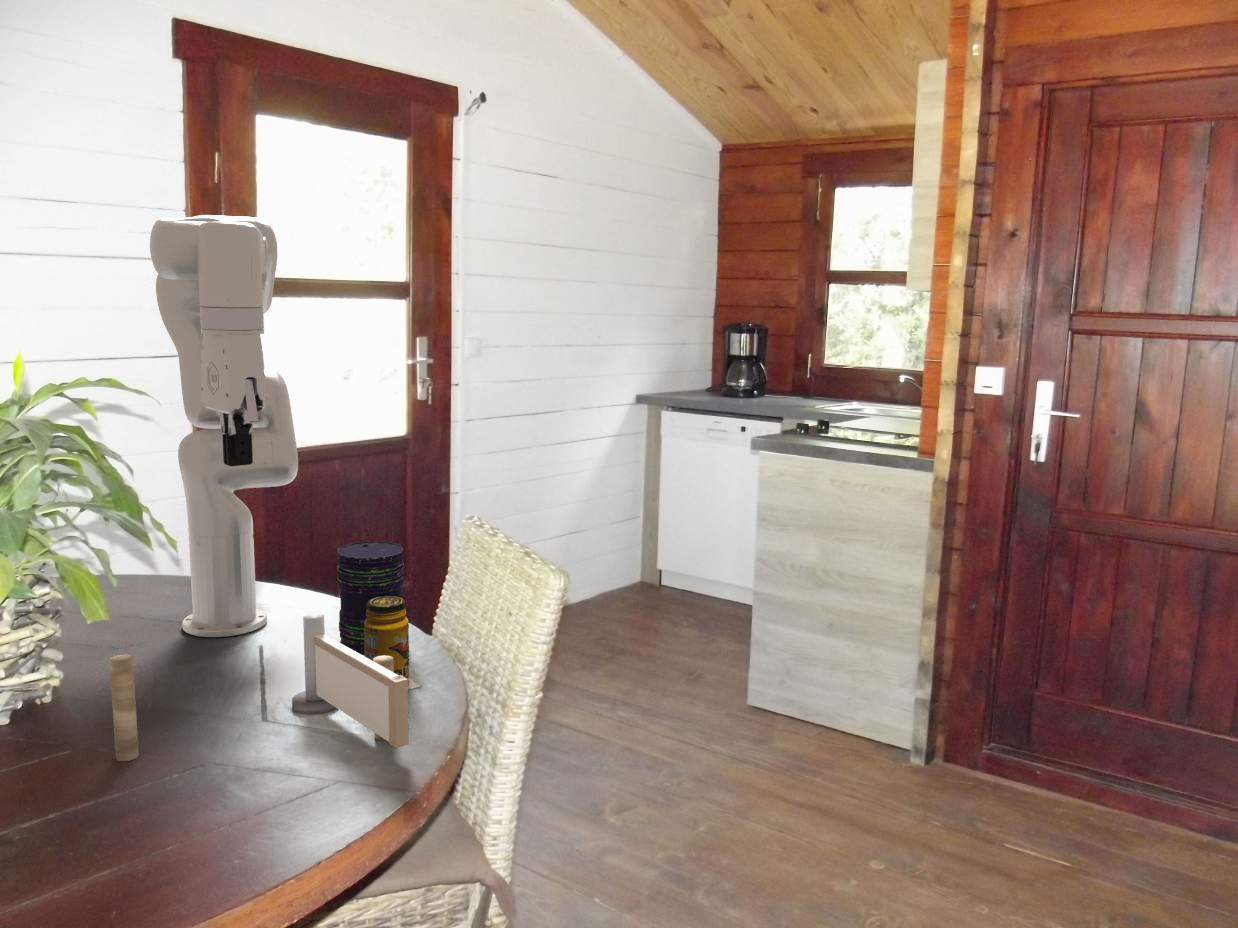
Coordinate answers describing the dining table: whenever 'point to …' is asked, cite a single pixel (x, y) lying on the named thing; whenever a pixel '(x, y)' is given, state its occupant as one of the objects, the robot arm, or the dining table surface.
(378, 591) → the storage jar
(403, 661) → the condiment
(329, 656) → the gate
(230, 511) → the robot arm
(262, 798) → the dining table surface
